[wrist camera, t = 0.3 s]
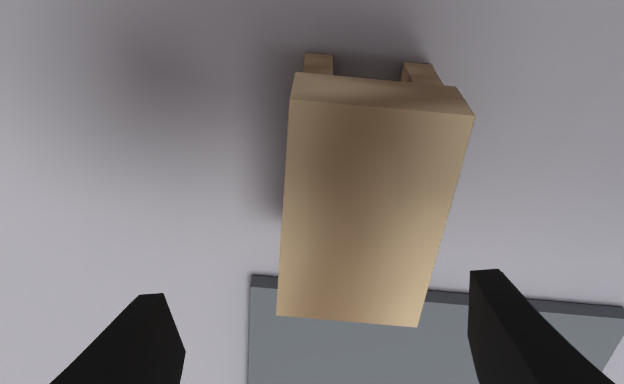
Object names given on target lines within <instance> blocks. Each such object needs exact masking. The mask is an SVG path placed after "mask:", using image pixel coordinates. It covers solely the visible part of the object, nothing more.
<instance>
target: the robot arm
mask: <svg viewBox="0 0 624 384" xmlns="http://www.w3.org/2000/svg"><path fill="white" fill-rule="evenodd" d="M467 336H468V340H469V345H470V349H471V354H472V358H473V362H474V366H475V370H476V374H477V378H478V381H479V384H615V383H614V382H613V381H611V380H610V379H609V378H608V377H607V376H606V375H604V374H603V373H602V372H601V371H600V370H599V369H598V368H597V367H595V366H594V365H593V364H592V363H591V362H590V361H589V360H588V359H586V358H585V357H584V356H583V355H582V354H581V353H580V352H579V351H578V350H577V349H576V348H575V347H573V346H572V345H571V344H570V343H569V342H568V341H567V340H566V339H565V338H564V337H563V336H562V335H561V334H560V333H559V332H558V331H557V330H556V329H555V328H554V327H553V326H552V325H551V324H550V323H549V322H548V321H547V320H546V319H545V318H544V317H543V316H542V315H541V314H540V313H539V312H538V311H537V310H536V309H535V308H534V307H533V305H532V304H531V303H530V302H529V301H528V300H527V299H526V298H525V297H524V296H523V295H522V294H521V293H520V291H519V290H518V289H517V288H516V287H515V286H514V285H513V284H512V283H511V281H510V280H509V279H508V278H507V277H506V276H505V275H504V273H503V272H501V271H500V270H499V269H489V270H475V271H470V287H469V309H468V331H467ZM185 353H186V351H185V349H184V346H183V343H182V341H181V338H180V336H179V333H178V330H177V328H176V325H175V322H174V320H173V317H172V315H171V312H170V309H169V307H168V304H167V302H166V299H165V296H164V294H163V293H158V294H144V295H139V296H138V297H136V298H135V299H134V300H133V301H132V302H131V303H130V304H129V305H128V306H127V307H126V308H125V309H124V310H123V311H122V312H121V313H120V314H119V315H118V316H117V317H116V319H115V320H114V321H113V322H112V323H111V324H110V325H109V326H108V327H107V328H106V329H105V330H104V331H103V332H102V333H101V334H100V335H99V336H98V337H97V338H96V339H95V340H94V341H93V342H92V343H91V344H90V345H89V346H88V347H87V348H86V349H85V350H84V351H83V352H82V353H81V354H80V355H79V356H78V357H77V358H76V359H75V360H74V361H73V362H72V363H71V364H70V365H69V366H68V367H67V368H66V369H65V370H64V371H63V372H62V373H61V374H60V375H58V376H57V377H56V378H55V379H54V380H53V381H52V382H51V383H50V384H180V380H181V375H182V369H183V364H184V358H185Z"/></svg>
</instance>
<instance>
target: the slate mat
mask: <svg viewBox="0 0 624 384" xmlns="http://www.w3.org/2000/svg"><path fill="white" fill-rule="evenodd" d="M277 290H278V277H267V276H255V275H253V276H252V281H251V286H250V321H249V361H248V384H479V381H478V378H477V374H476V370H475V366H474V362H473V358H472V354H471V349H470V345H469V340H468V336H467V331H468V309H469V294H463V293H451V292H440V291H428V290H427V293H426V297H425V301H424V304H423V308H422V312H421V315H420V319H419V322H418V326H417V327H405V326H393V325H382V324H370V323H358V322H347V321H335V320H323V319H312V318H300V317H288V316H276V306H277ZM527 300H528V301H529V302H530V303H531V304H532V305H533V307H534V308H535V309H536V310H537V311H538V312H539V313H540V314H541V315H542V316H543V317H544V318H545V319H546V320H547V321H548V322H549V323H550V324H551V325H552V326H553V327H554V328H555V329H556V330H557V331H558V332H559V333H560V334H561V335H562V336H563V337H564V338H565V339H566V340H567V341H568V342H569V343H570V344H571V345H572V346H573V347H575V348H576V349H577V350H578V351H579V352H580V353H581V354H582V355H583V356H584V357H585V358H586V359H588V360H589V361H590V362H591V363H592V364H593V365H594V366H595V367H597V368H598V369H599V370H600V371H601V372H602V371H603V369H604V367H605V366H606V364H607V362H608V361H609V359H610V357H611V356H612V354H613V352H614V350H615V349H616V347H617V345H618V344H619V342H620V340H621V339H622V337H623V335H624V307H612V306H601V305H589V304H578V303H566V302H555V301H543V300H532V299H527Z"/></svg>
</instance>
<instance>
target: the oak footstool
mask: <svg viewBox="0 0 624 384" xmlns="http://www.w3.org/2000/svg"><path fill="white" fill-rule="evenodd" d="M474 120H475V115H474V113H473V112H472V110H471V109H470V107H469V106H468V104H467V103H466V101H465V100H464V98H463V97H462V95H461V94H460V92H459V91H458V89H457V88H456V87H454V86H444V85H443V83H442V82H441V80H440V78H439V77H438V75H437V73H436V72H435V70H434V69H433V67H432V65H431V64H421V63H411V62H404V63H403V69H402V74H401V80H400V81H390V80H379V79H368V78H357V77H347V76H336V75H333V55H325V54H315V53H305V59H304V65H303V71H302V72H295V75H294V80H293V85H292V90H291V95H290V101H289V117H288V132H287V148H286V164H285V180H284V196H283V211H282V227H281V243H280V259H279V274H278V290H277V306H276V316H288V317H300V318H312V319H323V320H335V321H347V322H358V323H370V324H382V325H393V326H405V327H417V326H418V322H419V319H420V315H421V312H422V308H423V304H424V301H425V297H426V293H427V290H428V286H429V283H430V279H431V275H432V272H433V268H434V265H435V261H436V257H437V254H438V250H439V246H440V243H441V239H442V236H443V232H444V228H445V225H446V221H447V217H448V214H449V210H450V207H451V203H452V199H453V196H454V192H455V189H456V185H457V181H458V178H459V174H460V170H461V167H462V163H463V160H464V156H465V152H466V149H467V145H468V142H469V138H470V134H471V131H472V127H473V123H474Z"/></svg>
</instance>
